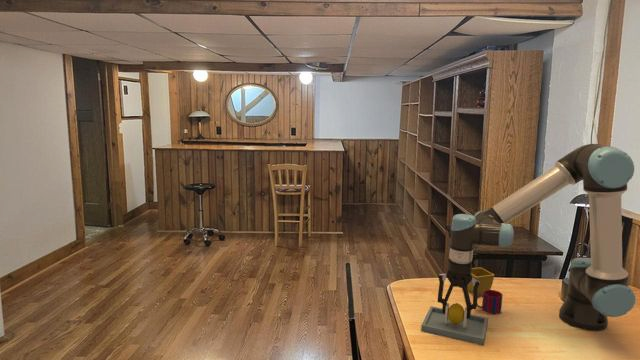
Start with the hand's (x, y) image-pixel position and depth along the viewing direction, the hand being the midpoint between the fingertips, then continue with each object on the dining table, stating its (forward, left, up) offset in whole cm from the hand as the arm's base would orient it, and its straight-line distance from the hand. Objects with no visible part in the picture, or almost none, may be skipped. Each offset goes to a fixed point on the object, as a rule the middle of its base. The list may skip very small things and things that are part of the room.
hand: (455, 323), depth 156 cm
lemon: (0, 0, -1) cm, 1 cm away
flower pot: (-4, -34, -2) cm, 34 cm away
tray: (0, 0, -1) cm, 1 cm away
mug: (-9, -19, -2) cm, 21 cm away
